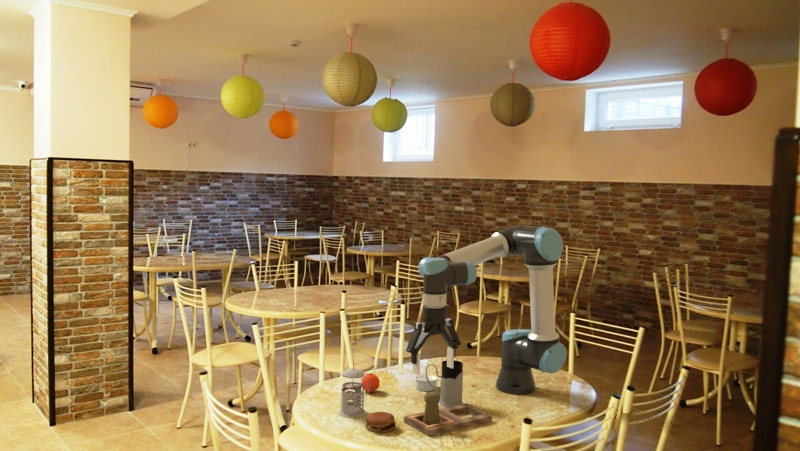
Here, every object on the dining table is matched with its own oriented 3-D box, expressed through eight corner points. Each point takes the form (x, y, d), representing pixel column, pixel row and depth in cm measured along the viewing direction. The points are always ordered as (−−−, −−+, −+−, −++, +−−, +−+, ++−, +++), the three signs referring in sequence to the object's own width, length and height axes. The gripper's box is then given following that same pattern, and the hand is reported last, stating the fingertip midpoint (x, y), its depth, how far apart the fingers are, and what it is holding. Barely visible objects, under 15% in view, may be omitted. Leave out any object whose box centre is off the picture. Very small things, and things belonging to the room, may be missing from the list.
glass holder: (460, 409, 228) (461, 367, 227) (421, 404, 232) (422, 363, 231) (465, 401, 236) (466, 361, 235) (427, 396, 240) (428, 357, 239)
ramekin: (409, 387, 251) (409, 376, 251) (427, 383, 257) (427, 372, 256) (424, 393, 244) (424, 382, 244) (441, 389, 250) (442, 378, 249)
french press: (332, 411, 222) (333, 339, 221) (360, 405, 229) (361, 335, 228) (347, 420, 215) (349, 346, 213) (376, 413, 222) (378, 341, 220)
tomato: (357, 389, 247) (357, 370, 247) (374, 387, 250) (374, 369, 250) (364, 395, 240) (365, 376, 239) (382, 393, 243) (382, 374, 242)
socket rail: (465, 409, 228) (465, 402, 228) (491, 421, 216) (492, 415, 216) (404, 422, 214) (404, 415, 214) (428, 436, 202) (428, 429, 202)
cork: (439, 430, 208) (440, 396, 207) (420, 428, 209) (421, 394, 208) (441, 423, 214) (442, 390, 213) (423, 421, 215) (424, 389, 214)
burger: (360, 426, 210) (360, 412, 210) (384, 420, 215) (384, 407, 215) (376, 436, 202) (376, 422, 202) (400, 430, 207) (401, 416, 207)
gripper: (409, 311, 199) (407, 379, 200) (472, 304, 212) (470, 367, 214) (395, 307, 205) (394, 373, 207) (458, 300, 219) (456, 362, 220)
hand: (433, 370), depth 210 cm, fingers open, 13 cm apart
